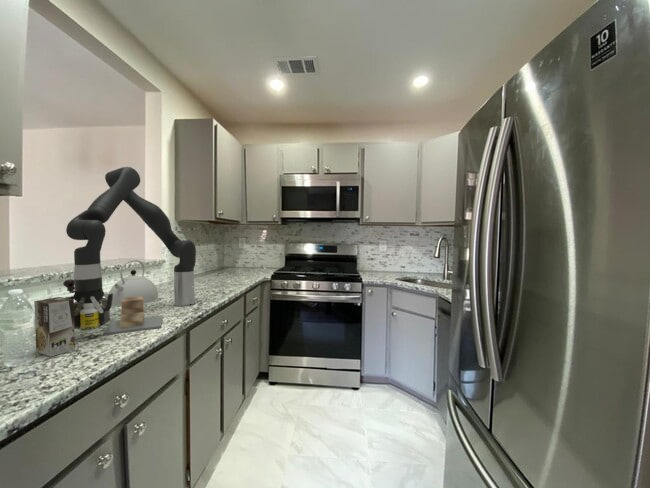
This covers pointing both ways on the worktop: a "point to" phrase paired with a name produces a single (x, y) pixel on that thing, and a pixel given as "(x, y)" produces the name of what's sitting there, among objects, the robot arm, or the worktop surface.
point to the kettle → (133, 288)
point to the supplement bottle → (89, 318)
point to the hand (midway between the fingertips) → (90, 324)
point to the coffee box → (54, 326)
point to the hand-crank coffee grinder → (71, 288)
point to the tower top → (132, 305)
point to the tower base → (132, 319)
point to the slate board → (147, 325)
